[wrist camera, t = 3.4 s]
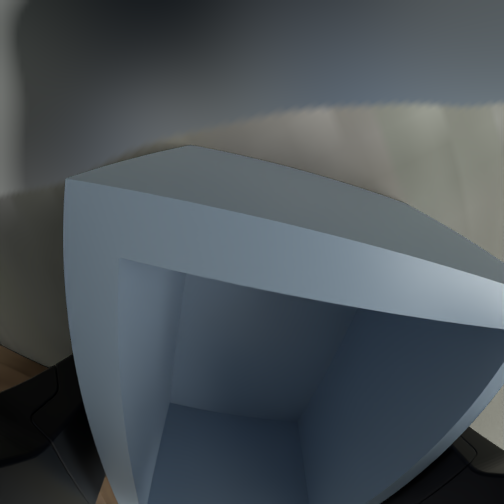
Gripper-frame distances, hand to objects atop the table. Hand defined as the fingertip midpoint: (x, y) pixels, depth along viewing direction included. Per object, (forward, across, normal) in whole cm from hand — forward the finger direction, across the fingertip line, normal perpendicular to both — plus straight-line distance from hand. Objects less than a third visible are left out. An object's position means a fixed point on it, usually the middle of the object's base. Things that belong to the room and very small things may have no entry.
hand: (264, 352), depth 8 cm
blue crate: (+2, 0, 0) cm, 2 cm away
